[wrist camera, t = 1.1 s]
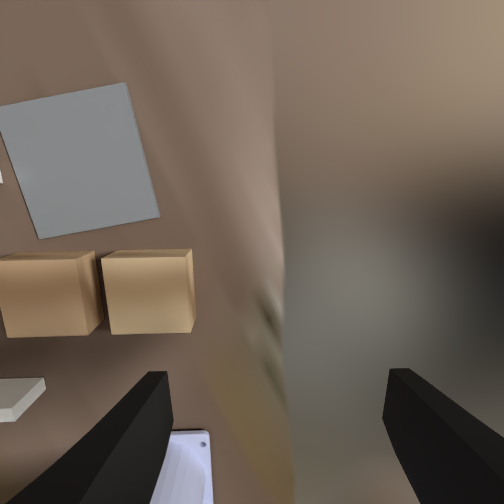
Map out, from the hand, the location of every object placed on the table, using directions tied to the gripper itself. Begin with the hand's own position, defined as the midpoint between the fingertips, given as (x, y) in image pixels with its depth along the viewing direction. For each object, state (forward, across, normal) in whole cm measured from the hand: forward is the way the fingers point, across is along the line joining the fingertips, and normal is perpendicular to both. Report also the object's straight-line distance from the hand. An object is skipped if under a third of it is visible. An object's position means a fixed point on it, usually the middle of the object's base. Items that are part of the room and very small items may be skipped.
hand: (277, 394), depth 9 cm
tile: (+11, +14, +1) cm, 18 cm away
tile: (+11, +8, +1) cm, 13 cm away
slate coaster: (+12, +11, -7) cm, 18 cm away
